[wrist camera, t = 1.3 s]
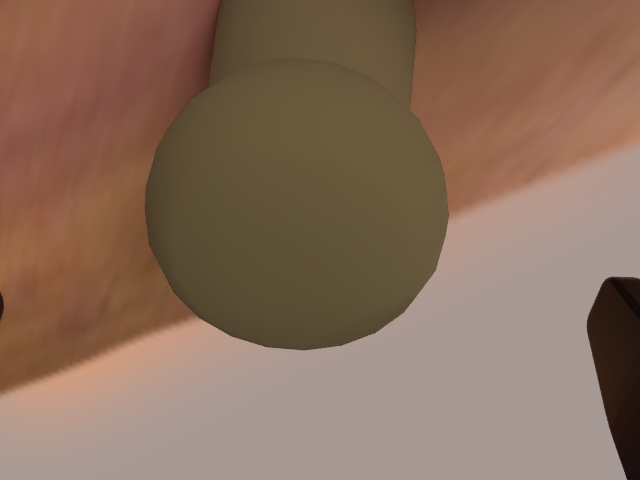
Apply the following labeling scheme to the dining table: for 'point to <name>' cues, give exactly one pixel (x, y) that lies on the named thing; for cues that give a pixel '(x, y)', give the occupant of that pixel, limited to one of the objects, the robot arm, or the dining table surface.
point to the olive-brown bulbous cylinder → (300, 176)
